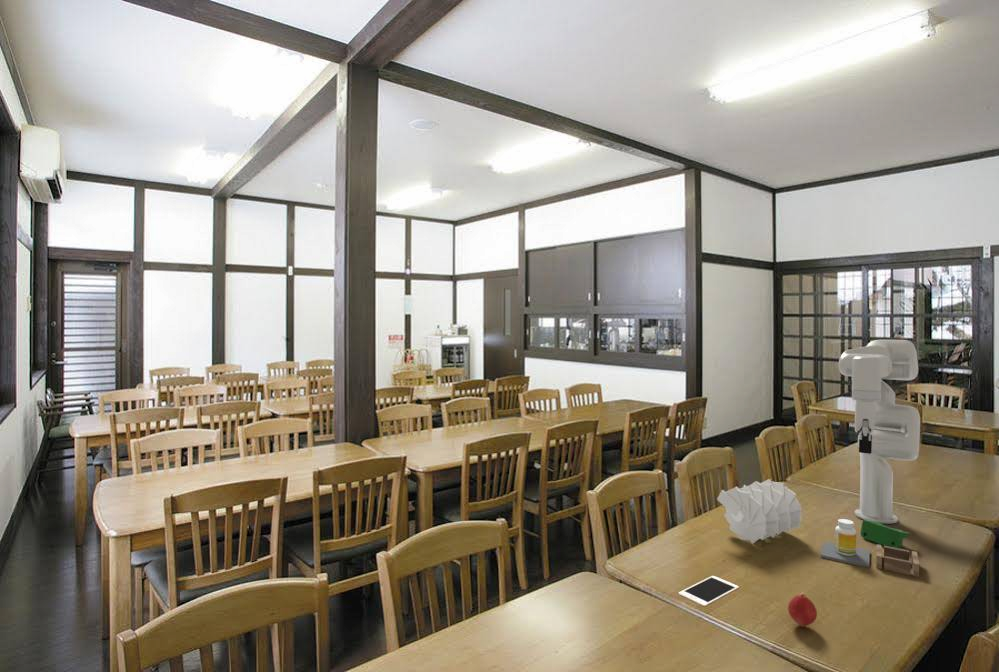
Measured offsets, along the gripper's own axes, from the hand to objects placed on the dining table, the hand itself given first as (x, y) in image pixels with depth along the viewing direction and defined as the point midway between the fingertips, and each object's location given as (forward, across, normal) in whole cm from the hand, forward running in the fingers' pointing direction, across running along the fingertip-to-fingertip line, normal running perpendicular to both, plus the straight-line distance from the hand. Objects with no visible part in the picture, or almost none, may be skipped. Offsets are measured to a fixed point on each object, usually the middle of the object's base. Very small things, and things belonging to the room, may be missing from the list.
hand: (865, 449), depth 168 cm
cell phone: (+31, +57, -33) cm, 73 cm away
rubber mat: (+30, +12, -4) cm, 33 cm away
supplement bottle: (+30, +12, -4) cm, 32 cm away
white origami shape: (+31, +10, -28) cm, 43 cm away
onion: (+31, +62, -11) cm, 70 cm away
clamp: (+31, -6, +5) cm, 32 cm away
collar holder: (+30, +12, +8) cm, 34 cm away
